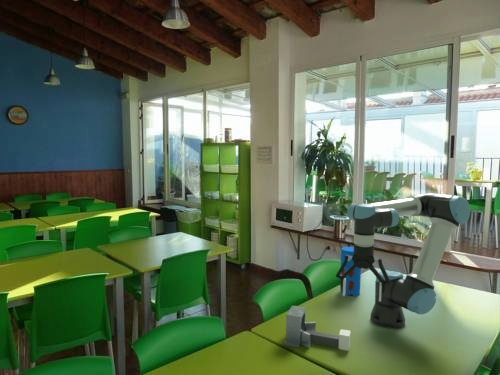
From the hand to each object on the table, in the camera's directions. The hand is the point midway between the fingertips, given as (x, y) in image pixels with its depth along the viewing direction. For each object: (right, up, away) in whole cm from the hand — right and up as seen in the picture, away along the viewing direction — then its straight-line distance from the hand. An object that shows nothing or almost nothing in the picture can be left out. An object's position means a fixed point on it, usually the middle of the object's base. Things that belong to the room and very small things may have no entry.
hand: (361, 297), depth 146 cm
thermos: (+12, -16, +62) cm, 65 cm away
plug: (-13, -21, +6) cm, 25 cm away
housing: (-23, -20, +10) cm, 32 cm away
